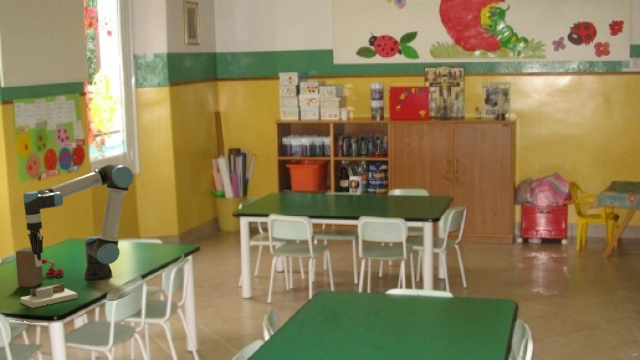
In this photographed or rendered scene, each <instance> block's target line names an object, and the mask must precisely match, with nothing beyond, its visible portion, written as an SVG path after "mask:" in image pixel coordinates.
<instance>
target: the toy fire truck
mask: <svg viewBox="0 0 640 360" xmlns="http://www.w3.org/2000/svg"><path fill="white" fill-rule="evenodd" d="M41 260H42V265H45V264H48V263H49V264H50V266H49V267H48V270H47V271H46V272H45V276H47V277H50V278H52V277H57V278H61V277H64V269H63V268H56V269H55V268H54V267H55V266H56V265H57V263H56V262H55V261H52V260H48V258H43V259H41Z"/></svg>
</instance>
